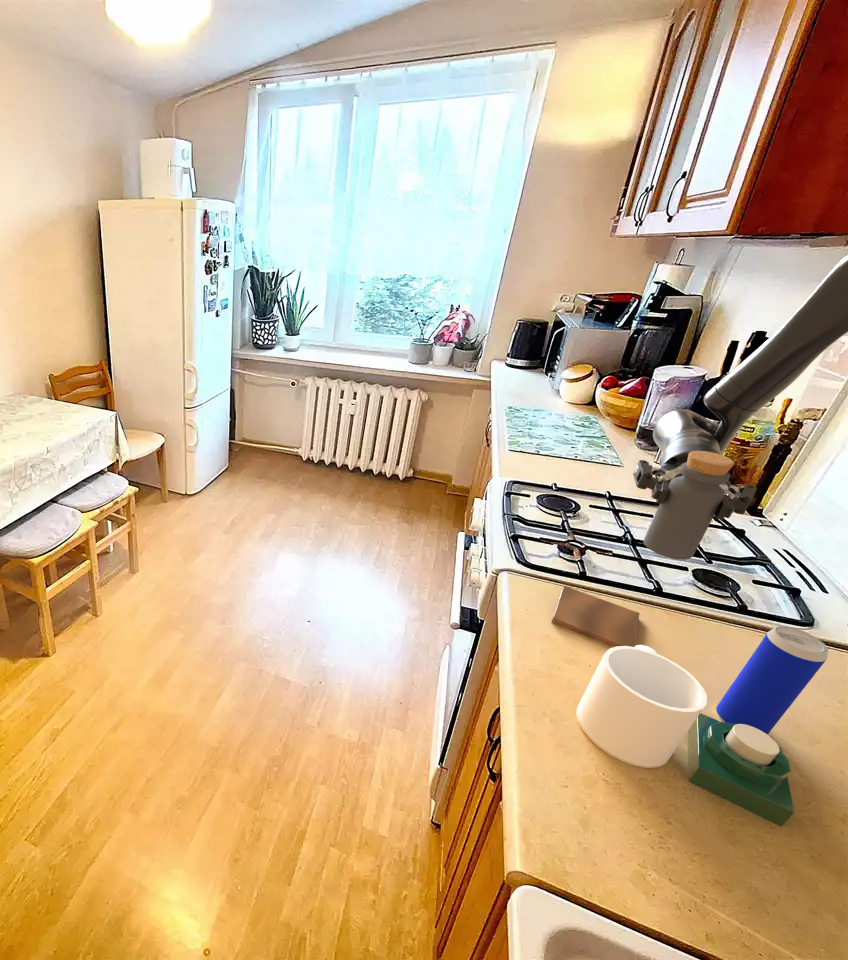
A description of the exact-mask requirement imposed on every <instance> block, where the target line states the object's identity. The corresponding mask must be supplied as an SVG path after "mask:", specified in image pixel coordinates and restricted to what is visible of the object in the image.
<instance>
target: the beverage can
mask: <svg viewBox="0 0 848 960" xmlns="http://www.w3.org/2000/svg"><path fill="white" fill-rule="evenodd" d="M828 655H829V649H828V647H827V645H826V644H825V643H824V642H823V641H822V640H820V639H819V638H818V637H816V636H814V635H812V634H810V633H809V632H806V631H804V630H801V629H799V628H796V627H792V626H788V625H779V626H775V627H774V628H772V629H770V630H769V631H768V632H766V634H765V636H764V637H763V639H761V641H760V643H759V644H758V645H757V647H756V649H755V650H754V651H753V653H752V654H751V656H750V657H749V659H748V660H747V661H746V663H745V664H744V666H743V667H742V669H741V670H740V672H739V674H737V676H736V677H735V679H734V680H733V682H732V683H731V685H730V686H729V688H728V689H727V691H726V692H725V693H724V695H723V696H722V698H721V699H720V701H719V703H718V704H717V705H716V707H715V709H716V714H717V716H718V718H719V719H720V722H727V723H734V724H745V725H749V726H752V727H755V728H757V729H759V730H761V731H762V732H764V733H766V734H767V735H768V736H769V734H770V732H772V730H773V729H774V727H775V726H776V725H777V723H778V722H779V721H780V720H781V718H783V716H784V714H785V713H786V712H787V711H788V709H790V707H791V705H792V704H793V703H794V702H795V701H796V699H797V698H798V697H799V695H800V694H801V693H802V692H803V690H804V689H805V688H806V687H807V685H808V684H809V683H810V682H811V680H812V679H813V678H814V677H815V675H816V674H817V673H818V671H819V670H820V669H821V668H822V667H823V665H824V664H825V662H827V660H828Z"/></svg>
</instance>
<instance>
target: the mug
mask: <svg viewBox="0 0 848 960" xmlns="http://www.w3.org/2000/svg"><path fill="white" fill-rule="evenodd" d="M707 695H708V694H707V693H706V691H705V688H704V686H702V684H701V683H700V682H699V681H698V679H697V678H695V676H693V675H692V674H691V673H690V672H689V671H687V670H686V669H685V668H683V666H681V665H679V664H678V663H676V662H675V661H673V660H670V659H668V658H667V657H665V656H663V655H660V654H658V653H657V651H656V650H655V649H654V648H652V647H651V646H648V645H644V644H636V646H635V647H630V646H616V647H611V648H609V649H608V650H606V651H605V652H604V654H603V656H602V658H601V659H600V662H599V664H598V666H597V668H596V670H595V672H594V674H593V676H592V678H591V679H590V682H589V684H588V686H587V687H586V689H585V692H584V694H583V696H582V697H581V699H580V702H579V703H578V705H577V708H576V712H575V714H576V720H577V722H578V724H579V726H580V728H581V730H582V731H583V733H584V734H585V735H586V737H587V738H588V739H589V740H590V742H592V743H593V744H594V745H595V746H596V747H598V748H599V749H600V750H602V751H603V752H605V753H606V754H608V755H609V756H611V757H612V758H614V759H616V760H619V761H621V762H623V763H625V764H627V765H631V766H634V767H638V768H639V767H640V768H644V769H652V768H654V769H655V768H660V767H661V766H665V765H666V764H667V763H668V761H669V760H670V759H671V757H672V756H673V754H674V753H675V751H676V750H677V748H678V747H679V745H680V744H681V742H682V741H683V739H684V738H685V736H686V735H687V734H688V730H689V729H690V727H691V726H692V724H693V723H694V721H695V720H696V719H697V717H698V716H699V714H700V713H701V714H702V711H703V710H704V709H705V707H706V705H707V704H708V696H707Z"/></svg>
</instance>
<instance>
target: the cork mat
mask: <svg viewBox="0 0 848 960" xmlns="http://www.w3.org/2000/svg"><path fill="white" fill-rule="evenodd" d="M639 619H640V612H638V611H635V610H633V609H629V608H627V607H624V606H621V605H618V604H616V603H613V602H610V601H608V600H605V599H603V598H599V597H597V596H594V595H591V594H589V593H586V592H583V591H581V590H577V589H575V588H571V587H569V586H566V585H563V586H562V588H561V591H560V594H559V597H558V600H557V603H556V606H555V610H554V613H553V615H552V619H551V624H554V625H557V626H560V627H563V628H564V629H567V630H569V631H572V632H574V633H577V634H580V635H582V636H584V637H587V638H589V639H591V640H593V641H594V640H595V641H596V642H599V643H602V644H604V645H607V646H609V647H611V648H613V647H616V646H630V647H635V646H636V645H637V639H638V638H637V637H638V630H639Z"/></svg>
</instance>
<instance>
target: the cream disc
mask: <svg viewBox="0 0 848 960" xmlns="http://www.w3.org/2000/svg"><path fill="white" fill-rule="evenodd" d="M725 742H726V744H727V745H728V746H729V747H730V749H731V750H733V751H734V752H735V753H737V754H738V755H739V756H741V757H742V758H744V759H746V760H748V761H750V762H752V763H755V764H757V765H762V766H766V765H769V764H770V763H771V762H772V761H773V759H774V758H775V757H776V756H777V755H778V753H779V751H780V750H779V747H780V746H779V744H778V743H777V742H776V741H775V740H774V739H773V738H772V737H771V736H770V735H769V734H768V735H767V734H766V733H764V732H762V731H761V730H759V729H757V728H755V727H752V726H749V725H745V724H736V725H734V726H733V728H732V729H731V730H730V732H729V733H728V734H727V736H726V737H725Z"/></svg>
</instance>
